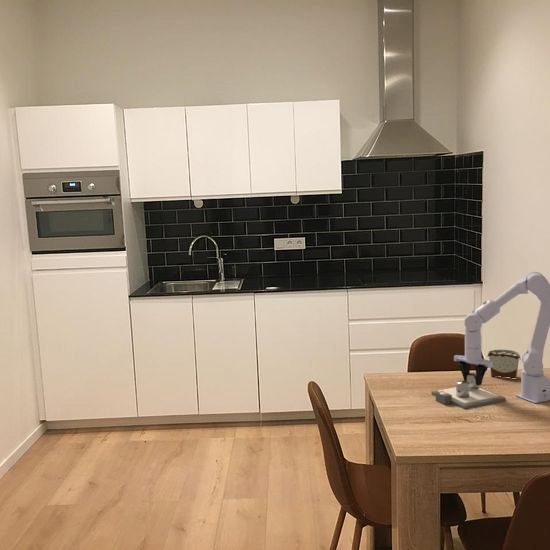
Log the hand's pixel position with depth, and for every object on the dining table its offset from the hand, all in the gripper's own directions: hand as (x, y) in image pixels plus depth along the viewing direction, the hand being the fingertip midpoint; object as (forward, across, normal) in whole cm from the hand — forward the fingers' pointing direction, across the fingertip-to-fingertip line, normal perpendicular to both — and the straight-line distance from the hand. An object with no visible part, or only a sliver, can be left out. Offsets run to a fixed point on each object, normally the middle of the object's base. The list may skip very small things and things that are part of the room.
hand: (473, 383), depth 226 cm
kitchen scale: (+4, 0, +6) cm, 7 cm away
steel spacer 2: (+2, 0, 0) cm, 2 cm away
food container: (+4, +2, -27) cm, 28 cm away
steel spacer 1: (+2, -1, +8) cm, 9 cm away
